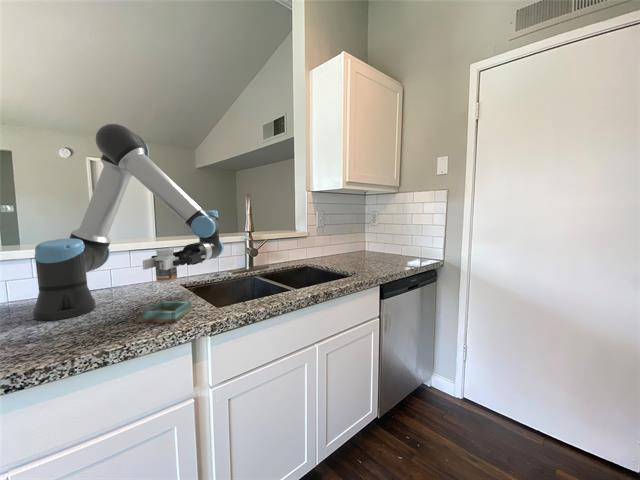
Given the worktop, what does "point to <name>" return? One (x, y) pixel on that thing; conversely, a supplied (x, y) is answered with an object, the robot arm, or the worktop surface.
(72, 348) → the worktop surface
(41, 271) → the robot arm
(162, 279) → the pill bottle
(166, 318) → the socket board
